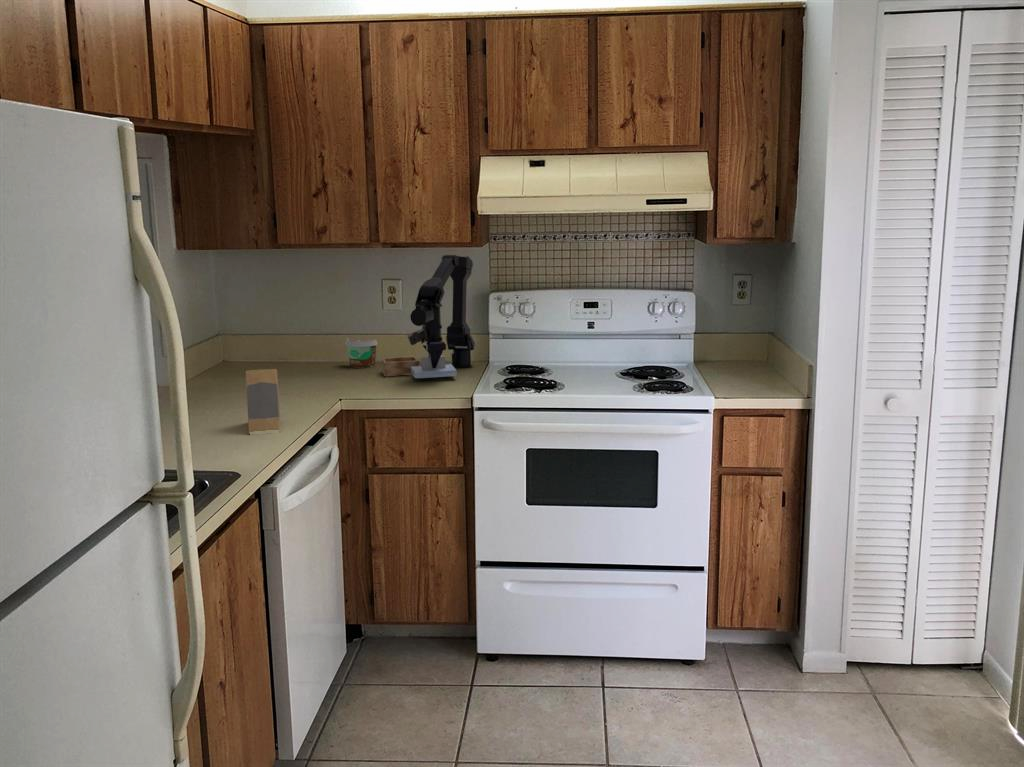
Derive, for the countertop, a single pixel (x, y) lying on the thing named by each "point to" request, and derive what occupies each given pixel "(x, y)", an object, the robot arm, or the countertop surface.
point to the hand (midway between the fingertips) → (433, 367)
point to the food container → (362, 352)
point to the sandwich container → (262, 400)
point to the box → (398, 365)
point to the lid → (433, 369)
